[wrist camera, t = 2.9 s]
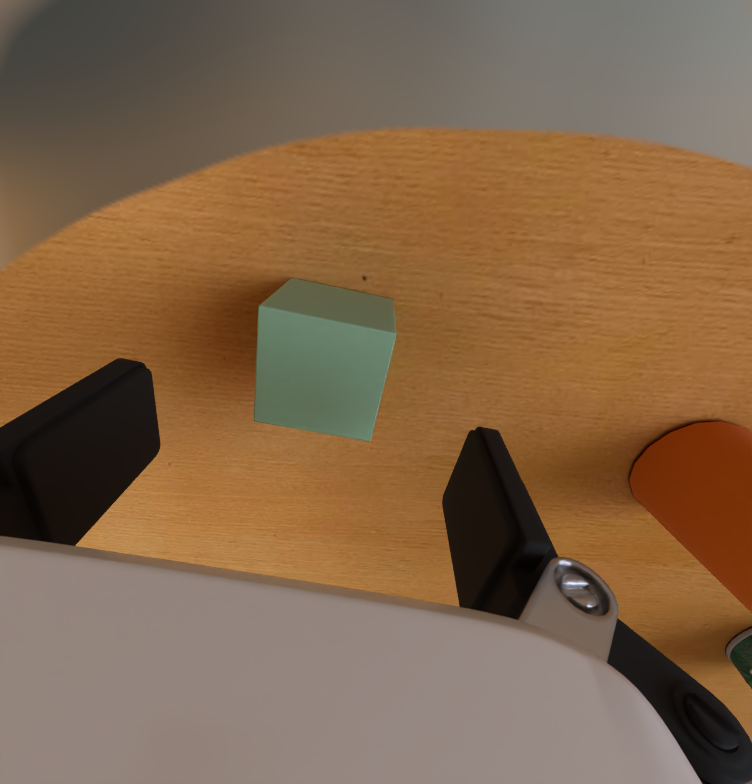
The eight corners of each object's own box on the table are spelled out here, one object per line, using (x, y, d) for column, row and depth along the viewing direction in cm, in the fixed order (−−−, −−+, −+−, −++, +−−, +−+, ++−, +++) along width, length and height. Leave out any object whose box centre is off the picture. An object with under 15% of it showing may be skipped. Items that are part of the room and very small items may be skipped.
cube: (283, 370, 19) (253, 421, 15) (291, 277, 17) (257, 305, 12) (373, 387, 19) (370, 442, 15) (393, 298, 17) (397, 333, 13)
